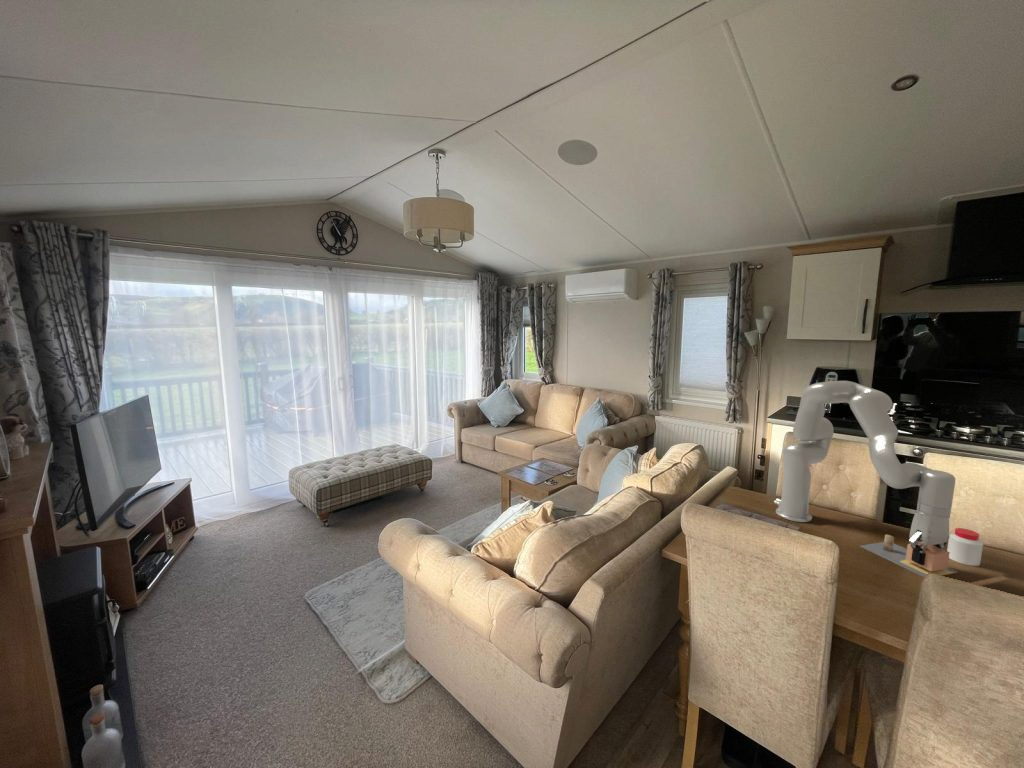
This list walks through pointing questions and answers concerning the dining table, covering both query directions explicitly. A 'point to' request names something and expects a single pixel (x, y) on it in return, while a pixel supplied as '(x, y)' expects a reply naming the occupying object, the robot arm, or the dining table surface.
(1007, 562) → the dining table surface
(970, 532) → the pill bottle
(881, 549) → the post board
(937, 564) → the tan boxy piece
